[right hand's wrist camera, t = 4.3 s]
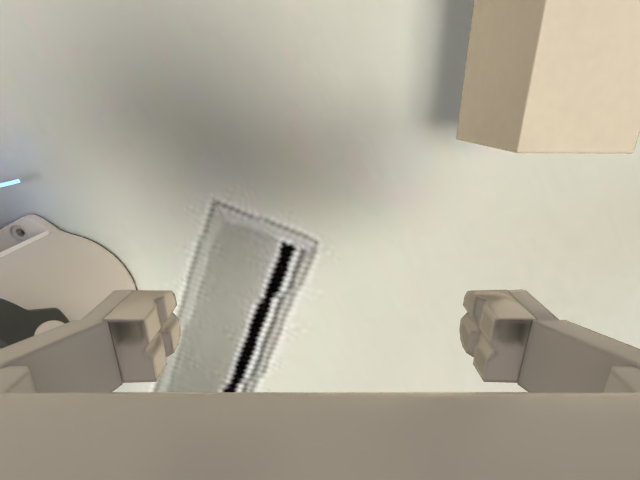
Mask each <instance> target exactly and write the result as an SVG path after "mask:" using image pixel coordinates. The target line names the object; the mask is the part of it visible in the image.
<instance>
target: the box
mask: <svg viewBox="0 0 640 480" xmlns="http://www.w3.org/2000/svg"><path fill="white" fill-rule="evenodd" d="M639 132H640V0H474V7H473V15H472V22H471V30H470V38H469V45H468V53H467V60H466V68H465V76H464V83H463V91H462V98H461V106H460V114H459V121H458V129H457V137H456V139H458V140H462V141H467V142H471V143H476V144H480V145H484V146H489V147H493V148H498V149H502V150H507V151H511V152H515V153H633V152H634V149H635V145H636V142H637V139H638V136H639Z"/></svg>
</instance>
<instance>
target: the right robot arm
mask: <svg viewBox="0 0 640 480" xmlns="http://www.w3.org/2000/svg"><path fill="white" fill-rule="evenodd" d="M16 183H20V180H19V179H17V180H13V181H9V182H4V183H0V187H4V186H8V185H12V184H16ZM21 229H22V230H23V231H24V233H25V234H24V233H23V232H22V231H21ZM176 306H177V303H176V298H175V294H174V293H173V292H172V291H164V290H136V287H135V284H134V282H133V280H132V278H131V276H130V274H129V273H128V271H127V270H126V268H125V267H124V266H123V264H122V263H121V262H120V261H119V260H118V259H117V258H116V257H115V256H114V255H113V254H111V253H110V252H109V251H108V250H106V249H105V248H103V247H102V246H100V245H98V244H97V243H95V242H93V241H91V240H88V239H86V238H83V237H80V236H77V235H73V234H70V233H67V232H64V231H62V230H59V229H58V228H57V227H55V226H54V225H52V224H51V223H49V222H48V221H46V220H45V219H43V218H41V217H39V216H37V215H34V214H29V215H26V216H24V217H22V218H20V219H18V220H16V221H14V222H12V223H11V224H9V225H7V226H5V227H3V228H1V229H0V480H640V349H638V348H636V347H633V346H631V345H628V344H625V343H623V342H620V341H618V340H615V339H613V338H610V337H607V336H605V335H602V334H600V333H597V332H595V331H592V330H590V329H587V328H584V327H582V326H579V325H577V324H574V323H572V322H569V321H567V320H559V319H558V318H557V317H556V316H554V315H553V314H552V313H551V312H550V311H549V310H548V309H546V308H545V307H544V306H543V305H542V304H541V303H540V302H538V301H537V300H536V299H535V298H534V297H533V296H532V295H531V294H529V293H528V292H527V291H525V290H478V291H467V292H466V295H465V297H464V302H463V306H464V307H465V309H466V311H467V313H466V314H465V315H464V316H463V317H462V318H461V322H460V340H461V343H462V346H463V348H464V350H465V351H466V353H468V354H469V355H471V356H472V357H474V361H473V365H474V366H475V368H476V370H477V371H478V373H479V375H480V376H481V378H482V380H483V381H484V382H513V383H518V385H519V386H521V387H522V388H524V389H525V390H526V391H528V392H341V393H111V392H112V391H114V390H115V389H117V388H118V387H119V386H121V385H122V383H127V382H156V381H157V380H158V378H159V376H160V375H161V373H162V371H163V370H164V368H165V366H166V365H167V361H166V357H168V356H169V355H171V354H172V353H174V351H175V349H176V348H177V346H178V342H179V338H180V321H179V318H178V317H177V316H176V315H175V314H174V313H173V311H174V309H175V307H176Z"/></svg>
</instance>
